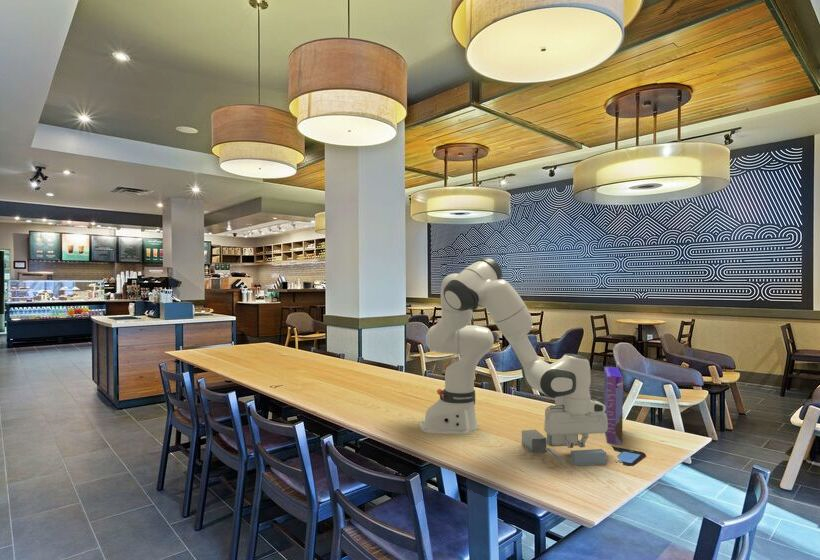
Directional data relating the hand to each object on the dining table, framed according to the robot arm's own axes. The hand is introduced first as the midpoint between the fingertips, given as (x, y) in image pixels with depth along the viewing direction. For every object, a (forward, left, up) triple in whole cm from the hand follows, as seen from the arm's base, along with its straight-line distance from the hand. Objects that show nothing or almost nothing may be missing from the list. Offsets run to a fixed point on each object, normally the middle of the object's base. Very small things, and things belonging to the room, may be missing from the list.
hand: (575, 447), depth 143 cm
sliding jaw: (0, +8, -3) cm, 9 cm away
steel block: (-12, +6, -4) cm, 14 cm away
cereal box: (+22, +15, -4) cm, 27 cm away
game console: (+13, -3, -4) cm, 14 cm away
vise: (0, 0, -3) cm, 3 cm away
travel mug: (+11, +31, -4) cm, 33 cm away
